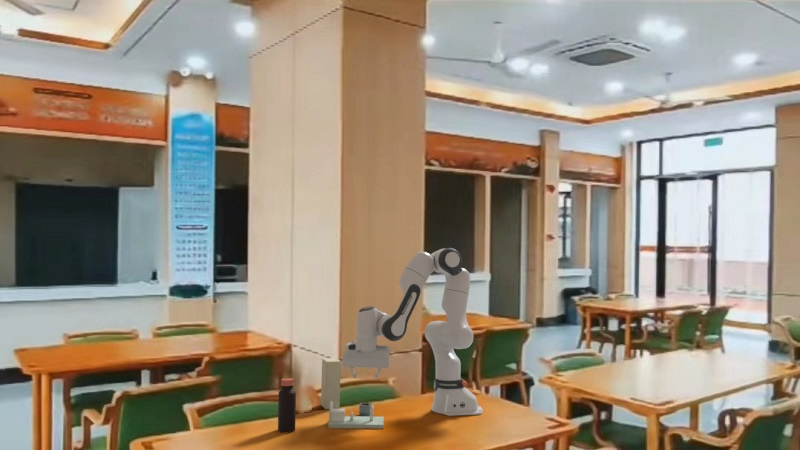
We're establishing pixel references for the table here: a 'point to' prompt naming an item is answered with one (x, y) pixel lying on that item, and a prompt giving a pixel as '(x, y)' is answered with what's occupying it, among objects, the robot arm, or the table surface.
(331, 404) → the cover
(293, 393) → the bottle
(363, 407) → the collar
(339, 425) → the base
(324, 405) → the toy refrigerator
